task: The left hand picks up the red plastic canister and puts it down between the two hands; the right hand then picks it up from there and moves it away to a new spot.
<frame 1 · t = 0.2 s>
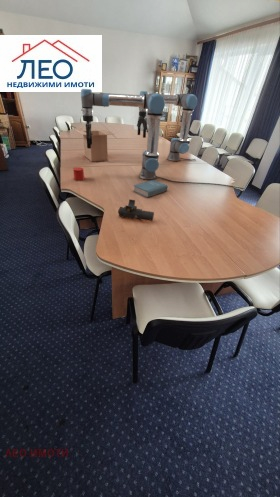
left hand: (89, 146, 173), 28 cm above the table, tool pointing down, fingers open, 13 cm apart
right hand: (141, 136, 220), 28 cm above the table, tool pointing down, fingers open, 13 cm apart
book: (150, 191, 179), on the table
laser sight: (135, 218, 141), on the table
box: (95, 158, 248), on the table
canister: (79, 178, 192), on the table
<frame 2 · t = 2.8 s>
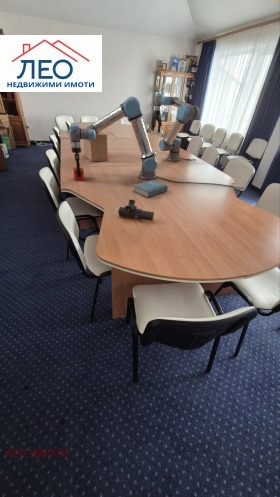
left hand: (79, 175, 190), 3 cm above the table, tool pointing down, fingers closed on canister, 8 cm apart
right hand: (155, 131, 257), 26 cm above the table, tool pointing down, fingers open, 13 cm apart
canister: (79, 178, 192), on the table, touching left hand
everything else where it was.
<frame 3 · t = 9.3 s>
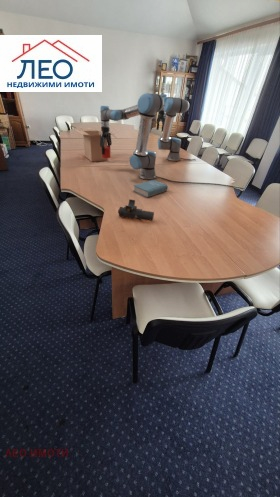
left hand: (106, 153, 209), 15 cm above the table, tool pointing down, fingers closed on canister, 8 cm apart
right hand: (160, 130, 270), 26 cm above the table, tool pointing down, fingers open, 13 cm apart
canister: (106, 157, 211), point 12 cm above the table, touching left hand
everything else where it was.
when the left hand's fingers open (4 cm above the table, at t = 15.8 s): canister drops 1 cm, on the table.
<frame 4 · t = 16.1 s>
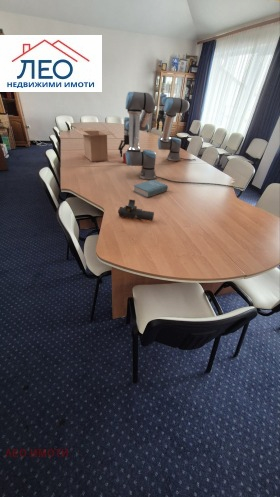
left hand: (127, 156, 239), 6 cm above the table, tool pointing down, fingers open, 12 cm apart
right hand: (160, 130, 270), 26 cm above the table, tool pointing down, fingers open, 13 cm apart
canister: (126, 162, 242), on the table
everything else where it was.
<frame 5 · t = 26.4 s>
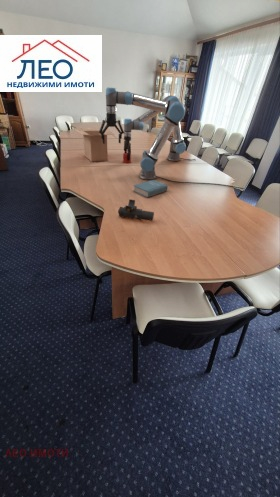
left hand: (111, 143, 179), 29 cm above the table, tool pointing down, fingers open, 13 cm apart
right hand: (127, 159, 240), 3 cm above the table, tool pointing down, fingers closed on canister, 8 cm apart
canister: (126, 162, 242), on the table, touching right hand
everything else where it was.
when the right hand's fingers open (4 cm above the table, at t = 33.9 s): canister drops 1 cm, on the table.
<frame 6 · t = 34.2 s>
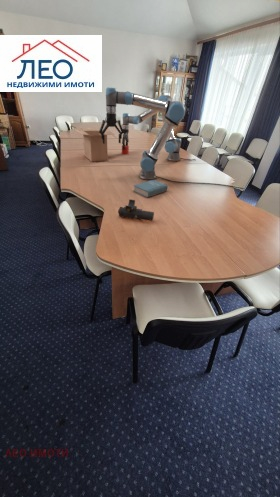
left hand: (111, 143, 179), 29 cm above the table, tool pointing down, fingers open, 13 cm apart
right hand: (125, 148, 269), 5 cm above the table, tool pointing down, fingers open, 12 cm apart
canister: (125, 153, 272), on the table
everything else where it was.
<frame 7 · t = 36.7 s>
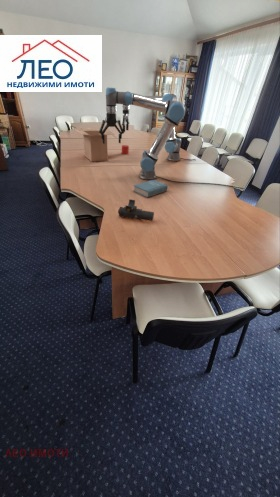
left hand: (111, 143, 179), 29 cm above the table, tool pointing down, fingers open, 13 cm apart
right hand: (125, 131, 257), 25 cm above the table, tool pointing down, fingers open, 13 cm apart
nothing on the table moved.
at the end: canister inside the target area (0.0 cm from its centre), on the table; canister tilted 0°; the two hands never held the canister at the same time; the left hand is holding nothing; the right hand is holding nothing; canister at rest at the end (0.0 cm/s) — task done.
